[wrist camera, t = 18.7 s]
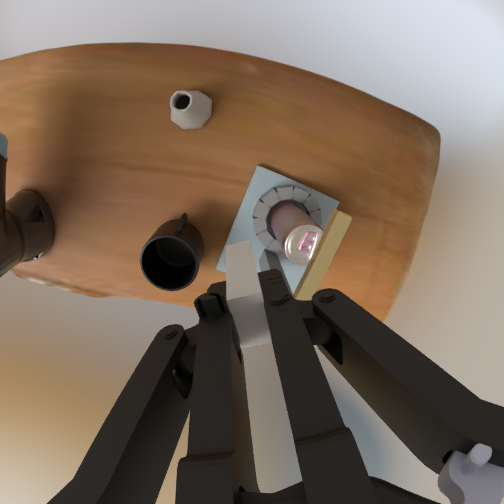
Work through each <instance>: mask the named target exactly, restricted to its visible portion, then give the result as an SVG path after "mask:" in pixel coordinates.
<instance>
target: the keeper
mask: <svg viewBox="0 0 504 504" xmlns="http://www.w3.org/2000/svg"><path fill="white" fill-rule="evenodd" d="M352 218H353V217H351V216H350V215H348V214H346V213H344V212H342V211H340V210H337V209H335V208H334V210H333V213H332V215H331V217H330V219H329V221H328V224H327V226H326V228H325V230H324V232H323V234H322V236H321V239H320V241H319V243H318V245H317V247H316V249H315V251H314V253H313V255H312V257H311V259H310V261H309V264H308V266H307V268H306V270H305V272H304V274H303V276H302V278H301V280H300V282H299V284H298V286H297V288H296V290H295V292H294V294H293V295H292V296H293V297H294V299H297V300H312V296H313V295H314V293H315V292H316V290H317V288H318V287H319V285H320V283H321V281H322V279H323V277H324V275H325V273H326V271H327V269H328V267H329V265H330V263H331V261H332V259H333V257H334V255H335V253H336V251H337V249H338V247H339V245H340V243H341V241H342V239H343V237H344V235H345V233H346V231H347V229H348V227H349V224H350V222H351V220H352Z"/></svg>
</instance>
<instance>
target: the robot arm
mask: <svg viewBox="0 0 504 504" xmlns="http://www.w3.org/2000/svg"><path fill="white" fill-rule="evenodd" d="M7 144H8V141H7V138H6V136H5V135H4V134H3V133H0V277H1V276H3V275H4V274H5V273H7V272H8V271H9V270H10V269H12V268H13V267H14V266H16V265H17V264H18V263H21V262H27V261H34V260H37V259H39V258H40V257H42V256H43V255H45V254H46V253H47V252H48V251H49V249H50V247H51V245H52V243H53V238H54V222H53V217H52V214H51V211H50V209H49V207H48V205H47V203H46V202H45V200H44V199H43V198H42V197H41V196H40V195H39V194H37V193H36V192H34V191H31V190H24V191H21V192H18V193H15V194H14V195H12V196H11V197H10V198H9V199H8V201H7V202H6V200H5V188H6V162H7V161H8V157H7ZM194 305H195V307H196V310H197V313H198V315H199V318H200V319H199V324H197V325H196V326H193V327H191V328H189V329H186V330H184V328H183V326H181V325H178V324H174V325H169V326H166V327H164V328H163V329H161V330H160V331H159V332H158V333H157V335H156V336H155V338H154V340H153V341H152V343H151V344H150V346H149V348H148V350H147V351H146V353H145V354H144V356H143V357H142V359H141V361H140V362H139V364H138V366H137V367H136V369H135V371H134V373H133V374H132V376H131V377H130V379H129V381H128V382H127V384H126V386H125V387H124V389H123V391H122V392H121V394H120V396H119V397H118V399H117V401H116V403H115V404H114V406H113V408H112V409H111V411H110V413H109V415H108V416H107V418H106V420H105V422H104V423H103V425H102V427H101V429H100V430H99V432H98V434H97V436H96V438H95V439H94V441H93V443H92V445H91V447H90V448H89V450H88V452H87V454H86V456H85V458H84V459H83V461H82V463H81V465H80V467H79V469H78V471H77V473H76V474H75V476H74V478H73V479H72V480H71V481H70V482H69V483H68V484H67V485H66V486H65V487H64V488H63V489H62V490H61V491H60V492H59V493H58V494H57V495H55V496H54V497H53V498H52V499H51V500H50V501H49V502H48V503H47V504H155V503H156V500H157V497H158V495H159V492H160V489H161V486H162V484H163V481H164V478H165V476H166V473H167V470H168V468H169V465H170V462H171V460H172V457H173V454H174V451H175V449H176V446H177V443H178V441H179V438H180V435H181V433H182V430H183V427H184V424H185V422H186V419H187V417H188V414H189V411H190V421H189V435H188V451H187V455H186V457H183V458H181V459H180V460H179V462H178V467H177V480H176V500H175V504H441V503H437V502H435V501H432V500H430V499H427V498H424V497H422V496H419V495H417V494H414V493H412V492H409V491H407V490H405V489H402V488H400V487H398V486H395V485H393V484H391V483H389V482H387V481H385V480H382V479H379V478H376V477H371V476H368V473H367V471H366V468H365V465H364V462H363V460H362V457H361V455H360V452H359V449H358V447H357V444H356V441H355V439H354V436H353V434H352V432H351V430H350V429H349V428H347V427H346V426H345V425H344V423H343V420H342V417H341V415H340V412H339V410H338V407H337V404H336V402H335V399H334V397H333V394H332V392H331V389H330V387H329V384H328V381H327V379H326V376H325V374H324V371H323V369H322V366H321V363H320V361H319V358H318V356H317V354H316V351H315V348H314V346H313V345H317V346H318V348H319V350H320V351H321V352H322V353H323V354H324V355H325V357H326V358H327V359H328V360H329V361H330V362H331V363H332V364H333V366H334V367H335V368H336V369H337V370H338V371H339V372H340V373H341V375H342V376H343V377H344V378H345V379H346V380H347V381H348V382H349V383H350V385H351V386H352V387H353V388H354V389H355V390H356V391H357V392H358V394H359V395H360V396H361V397H362V398H363V399H364V400H365V401H366V402H367V404H368V405H369V406H370V407H371V408H372V409H373V410H374V411H375V412H376V414H377V415H378V416H379V417H380V418H381V419H382V420H383V421H384V422H385V423H386V424H387V426H388V427H389V428H390V429H391V430H392V431H393V432H394V433H395V434H396V435H397V436H398V438H399V439H400V440H401V441H402V442H403V443H404V444H405V445H406V446H407V447H408V448H409V450H410V451H411V452H412V453H413V454H414V455H415V456H416V457H417V458H418V459H419V460H420V461H421V462H422V463H423V464H424V465H425V466H427V467H428V468H430V469H431V470H432V471H434V472H435V473H437V474H439V477H438V487H439V489H440V491H441V492H442V493H443V494H445V496H447V497H448V498H449V500H450V502H451V504H500V502H501V500H502V498H503V496H504V407H502V406H499V405H496V404H493V403H490V402H487V401H484V400H481V399H479V398H478V397H477V396H476V395H475V394H473V393H472V392H471V391H469V390H468V389H467V388H466V387H465V386H463V385H462V384H461V383H460V382H458V381H457V380H456V379H455V378H453V377H452V376H451V375H450V374H448V373H447V372H445V371H444V370H443V369H442V368H440V367H439V366H438V365H437V364H436V363H434V362H433V361H432V360H430V359H429V358H428V357H427V356H425V355H424V354H422V353H421V352H420V351H419V350H417V349H416V348H415V347H414V346H412V345H411V344H410V343H408V342H407V341H406V340H404V339H403V338H402V337H401V336H399V335H398V334H396V333H395V332H394V331H393V330H391V329H390V328H389V327H387V326H386V325H385V324H383V323H382V322H381V321H379V320H378V319H377V318H375V317H374V316H373V315H371V314H370V313H369V312H367V311H366V310H365V309H363V308H362V307H361V306H359V305H358V304H357V303H355V302H354V301H353V300H351V299H350V298H349V297H347V296H346V295H345V294H343V293H342V292H341V291H339V290H337V289H331V288H327V289H323V290H319V291H318V292H316V293H314V295H313V296H312V300H297V299H294V297H293V296H292V295H291V294H290V293H289V291H288V288H287V286H286V283H285V281H284V278H283V276H282V273H281V271H279V270H277V269H276V268H275V269H271V270H266V271H262V272H258V273H257V270H256V265H255V261H254V257H253V253H252V249H251V244H250V240H248V241H244V242H239V243H235V244H231V245H227V246H226V281H223V282H218V283H214V284H211V286H210V287H209V288H208V290H207V293H204V294H202V295H200V296H199V297H198V298H196V299H195V301H194ZM267 342H272V344H273V349H274V353H275V358H276V362H277V366H278V371H279V376H280V380H281V384H282V388H283V393H284V398H285V402H286V406H287V411H288V415H289V420H290V424H291V429H292V433H293V438H294V443H295V448H296V453H297V457H298V462H299V466H300V471H301V475H302V480H303V481H301V482H299V483H297V484H295V485H293V486H290V487H288V488H285V489H283V490H281V491H278V492H275V493H260V490H259V487H258V484H257V479H256V471H255V463H254V454H253V446H252V437H251V428H250V419H249V411H248V401H247V391H246V382H245V373H244V372H245V371H244V362H243V354H242V351H241V348H240V344H241V347H242V348H245V347H249V346H254V345H259V344H263V343H267Z"/></svg>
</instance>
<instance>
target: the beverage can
mask: <svg viewBox="0 0 504 504" xmlns="http://www.w3.org/2000/svg"><path fill="white" fill-rule="evenodd" d="M269 223H270V226H271V228H272V230H273V232H274V234H275V236H276V238H277V240H278V242H279V244H280V246H281V249H282V251H283V253H284V255H285V256H286V258H287V259H288V260H290V261H291V262H292V263H293V264H295V265H297V266H302V267H307V266H308V264H309V261H310V259H311V257H312V255H313V253H314V251H315V249H316V247H317V245H318V243H319V241H320V239H321V236H322V234H323V232H324V230H323V229H322V228H321V227H320V226H319V225H318V224H317V223H316V222H315V221H314V220H313V219H312V218H311V217H310V216H309V215H307V214H306V213H305V212H304V211H303V210H302V209H301V208H300V207H299V206H298V205H296V204H295V203H292V202H281V203H279V204H277V205H276V206H275V207H274V208H273V209H272V210H271V212H270V215H269Z"/></svg>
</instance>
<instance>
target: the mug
mask: <svg viewBox="0 0 504 504" xmlns="http://www.w3.org/2000/svg"><path fill="white" fill-rule="evenodd" d="M186 221H187V214H186V213H184V214H183V215H182V217H181V219H180V220H172V221H169V222H166V223H164V224H163V225H161V226H160V227H159V228H158V230H157V231H156V232H155V233H154V234H153V236H152V237H151V238H150V239H149V241H148V242H147V243H146V244H145V246H144V247H143V249H142V252H141V255H140V265H141V269H142V272H143V274H144V276H145V277H146V279H147V280H148V281H149V282H150V283H151V284H153V285H154V286H156V287H157V288H160V289H162V290H167V291H177V290H181V289H183V288H185V287H187V286H189V285H190V284H191V283H192V282H193V281H194V279H195V278H196V276H197V273H198V269H199V265H200V261H201V257H202V253H203V246H204V245H203V239H202V237H201V234H200V233H199V231H198V230H197V229H196V228H195V227H194V226H193V225H191V224H190V223H188V222H186Z"/></svg>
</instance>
